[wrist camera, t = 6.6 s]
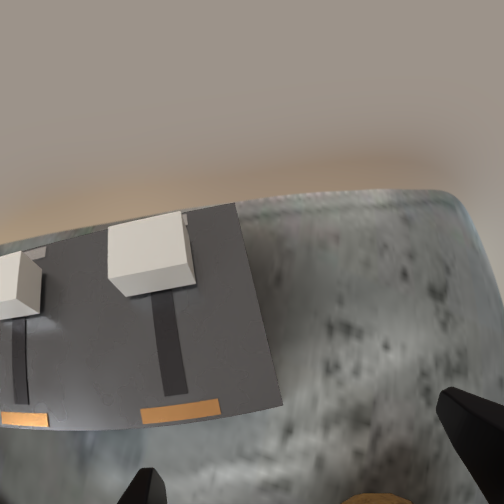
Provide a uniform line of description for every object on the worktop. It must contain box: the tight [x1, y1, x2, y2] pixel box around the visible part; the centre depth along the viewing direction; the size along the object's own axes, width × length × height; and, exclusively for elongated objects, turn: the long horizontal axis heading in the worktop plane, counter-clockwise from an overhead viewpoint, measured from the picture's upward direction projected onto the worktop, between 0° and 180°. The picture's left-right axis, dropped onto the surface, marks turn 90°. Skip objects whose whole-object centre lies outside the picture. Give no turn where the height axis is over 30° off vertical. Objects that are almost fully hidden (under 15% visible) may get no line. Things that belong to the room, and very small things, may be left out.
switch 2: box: [108, 211, 196, 297], centre depth 16 cm, size 3×4×2 cm
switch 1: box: [0, 251, 42, 320], centre depth 15 cm, size 3×4×2 cm
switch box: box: [0, 203, 283, 431], centre depth 19 cm, size 12×18×7 cm, turn 102°
